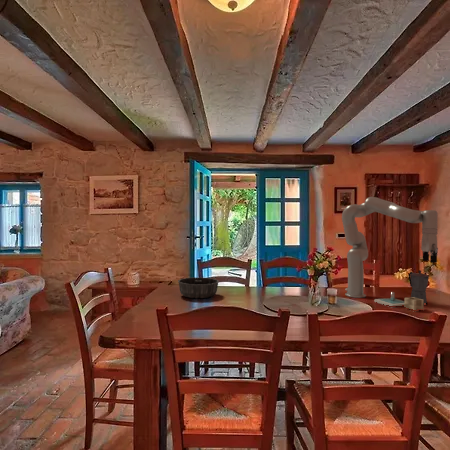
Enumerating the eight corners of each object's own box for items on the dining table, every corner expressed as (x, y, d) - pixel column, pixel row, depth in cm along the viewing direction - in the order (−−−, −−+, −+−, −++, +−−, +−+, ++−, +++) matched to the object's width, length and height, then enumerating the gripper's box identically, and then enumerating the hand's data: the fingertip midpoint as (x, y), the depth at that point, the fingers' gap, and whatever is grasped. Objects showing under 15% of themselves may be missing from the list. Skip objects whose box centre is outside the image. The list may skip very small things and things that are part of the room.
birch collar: (404, 308, 187) (404, 297, 187) (413, 307, 189) (413, 297, 189) (414, 311, 181) (414, 300, 181) (423, 310, 183) (423, 299, 183)
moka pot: (421, 306, 192) (422, 272, 192) (400, 300, 207) (401, 268, 206) (435, 305, 194) (435, 271, 194) (413, 299, 209) (413, 268, 209)
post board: (374, 301, 203) (374, 298, 203) (392, 300, 207) (392, 297, 207) (392, 307, 190) (392, 304, 190) (411, 305, 194) (411, 302, 194)
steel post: (390, 300, 199) (390, 292, 199) (392, 300, 200) (392, 291, 200) (392, 301, 197) (392, 292, 197) (395, 301, 198) (395, 292, 198)
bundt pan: (225, 294, 222) (225, 279, 222) (206, 302, 198) (207, 285, 198) (191, 290, 233) (191, 276, 233) (169, 297, 209) (169, 282, 209)
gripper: (416, 231, 200) (416, 260, 200) (429, 232, 183) (429, 263, 183) (429, 231, 199) (429, 260, 199) (444, 232, 182) (444, 263, 182)
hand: (429, 261), depth 191 cm, fingers open, 9 cm apart
